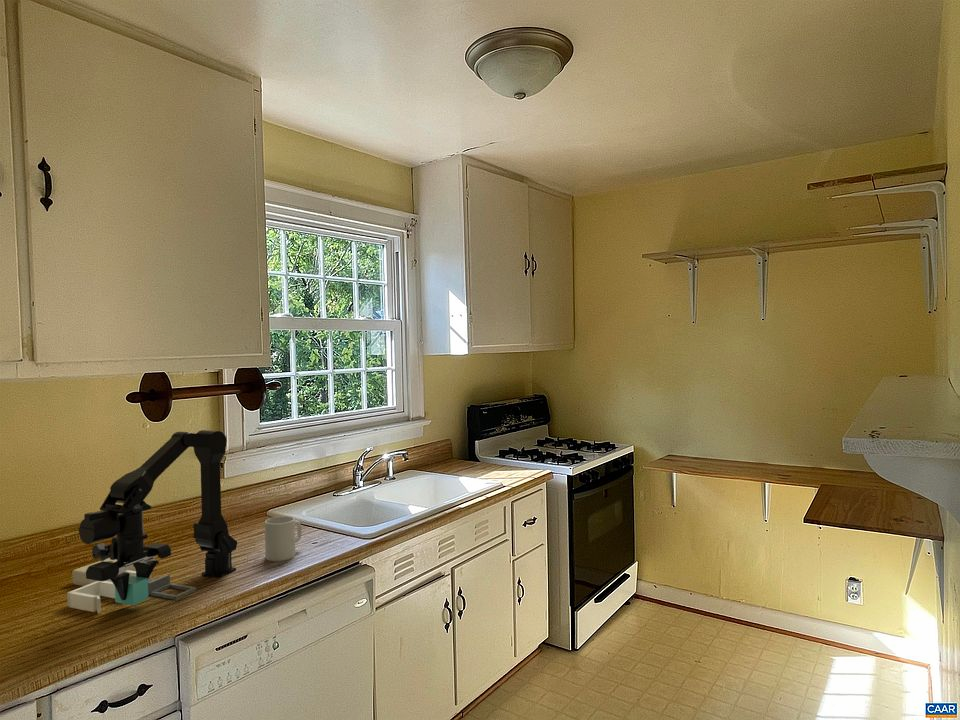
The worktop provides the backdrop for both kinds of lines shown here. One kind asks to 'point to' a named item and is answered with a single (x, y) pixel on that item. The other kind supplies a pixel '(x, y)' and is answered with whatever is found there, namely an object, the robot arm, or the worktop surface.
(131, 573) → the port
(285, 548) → the mug
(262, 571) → the worktop surface
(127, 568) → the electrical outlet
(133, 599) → the plug
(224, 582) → the worktop surface
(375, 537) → the worktop surface
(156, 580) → the grey rectangular frame stand
